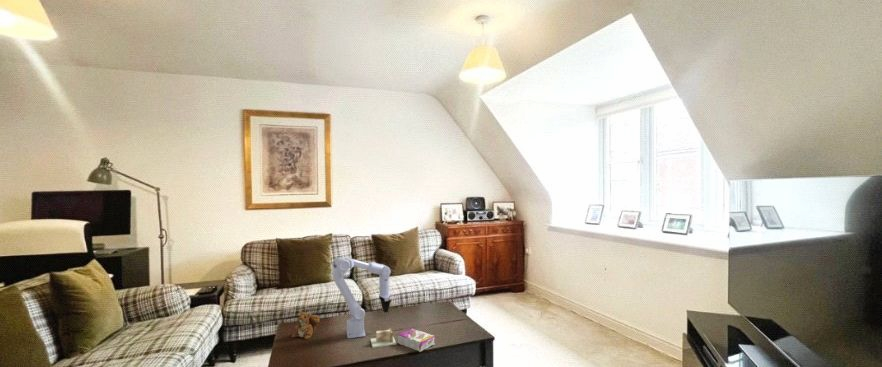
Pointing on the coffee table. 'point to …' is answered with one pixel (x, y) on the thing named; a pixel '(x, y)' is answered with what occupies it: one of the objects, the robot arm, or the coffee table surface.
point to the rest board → (382, 343)
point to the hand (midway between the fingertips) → (385, 310)
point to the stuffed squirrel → (306, 325)
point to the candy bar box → (416, 339)
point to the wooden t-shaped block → (384, 335)
